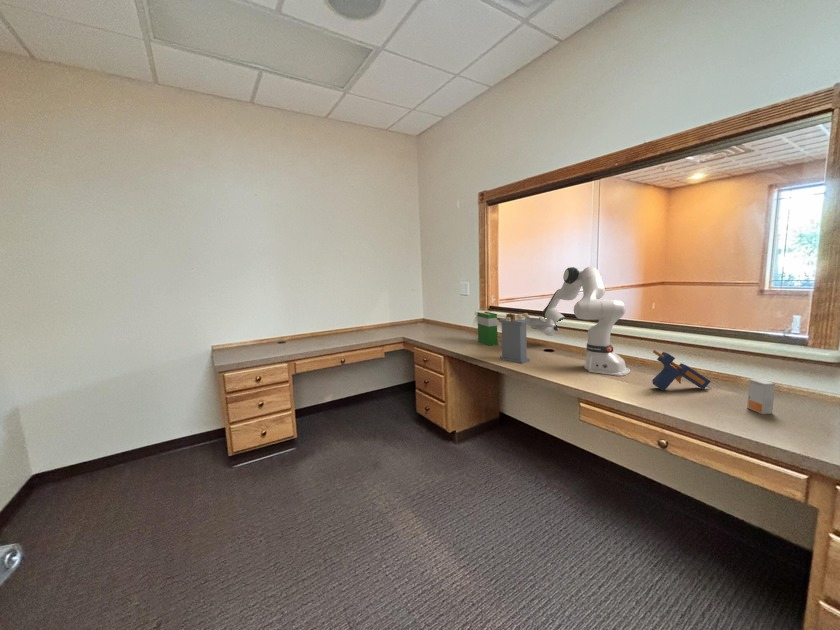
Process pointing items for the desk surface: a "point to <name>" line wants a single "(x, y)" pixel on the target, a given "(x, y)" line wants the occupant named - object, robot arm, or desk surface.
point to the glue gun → (676, 373)
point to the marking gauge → (515, 316)
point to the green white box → (487, 328)
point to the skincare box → (761, 396)
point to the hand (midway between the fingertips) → (533, 317)
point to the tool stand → (514, 340)
